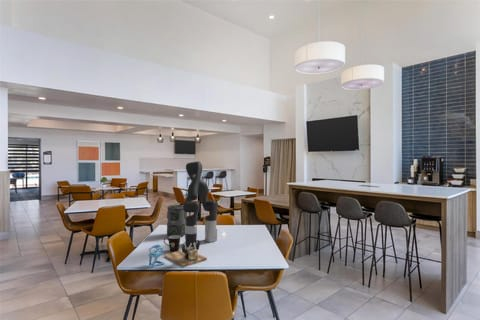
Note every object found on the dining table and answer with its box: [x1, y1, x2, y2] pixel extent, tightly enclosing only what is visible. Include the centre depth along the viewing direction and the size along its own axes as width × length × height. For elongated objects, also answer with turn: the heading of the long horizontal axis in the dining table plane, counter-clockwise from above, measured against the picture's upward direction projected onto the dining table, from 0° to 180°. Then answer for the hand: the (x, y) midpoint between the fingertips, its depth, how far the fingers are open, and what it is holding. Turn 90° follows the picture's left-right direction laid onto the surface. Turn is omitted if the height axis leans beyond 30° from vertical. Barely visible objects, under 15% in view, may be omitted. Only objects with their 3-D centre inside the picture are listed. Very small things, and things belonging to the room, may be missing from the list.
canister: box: [166, 202, 187, 238], centre depth 236 cm, size 16×16×28 cm
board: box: [163, 249, 208, 268], centre depth 182 cm, size 18×24×2 cm
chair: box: [147, 244, 166, 268], centre depth 170 cm, size 8×8×12 cm
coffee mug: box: [163, 235, 181, 253], centre depth 198 cm, size 12×9×10 cm
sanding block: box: [184, 247, 199, 261], centre depth 178 cm, size 5×9×6 cm, turn 44°
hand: (190, 257), depth 177 cm, fingers closed on sanding block, 5 cm apart
